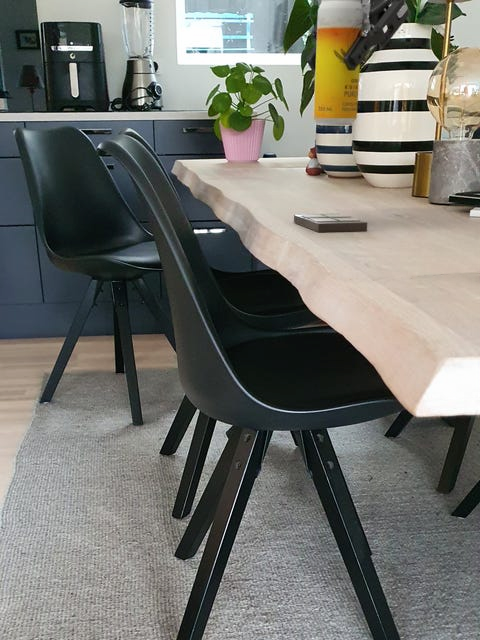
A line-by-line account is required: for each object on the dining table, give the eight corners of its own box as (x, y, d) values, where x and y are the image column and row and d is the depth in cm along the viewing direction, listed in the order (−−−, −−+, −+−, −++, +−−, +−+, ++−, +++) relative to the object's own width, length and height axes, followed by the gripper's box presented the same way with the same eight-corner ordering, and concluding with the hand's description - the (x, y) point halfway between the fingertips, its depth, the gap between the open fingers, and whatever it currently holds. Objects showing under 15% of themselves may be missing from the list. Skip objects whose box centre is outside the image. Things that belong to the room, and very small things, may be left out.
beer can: (351, 125, 110) (359, -3, 103) (308, 124, 111) (313, -2, 105) (359, 124, 115) (367, 2, 108) (318, 123, 117) (323, 3, 110)
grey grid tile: (293, 222, 124) (294, 213, 123) (339, 221, 126) (339, 212, 125) (318, 232, 115) (318, 222, 114) (367, 231, 116) (367, 221, 116)
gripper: (340, -48, 113) (279, 45, 111) (424, -61, 103) (359, 40, 101) (362, -1, 118) (303, 88, 116) (443, -9, 109) (381, 88, 107)
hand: (329, 65), depth 109 cm, fingers closed on beer can, 6 cm apart
